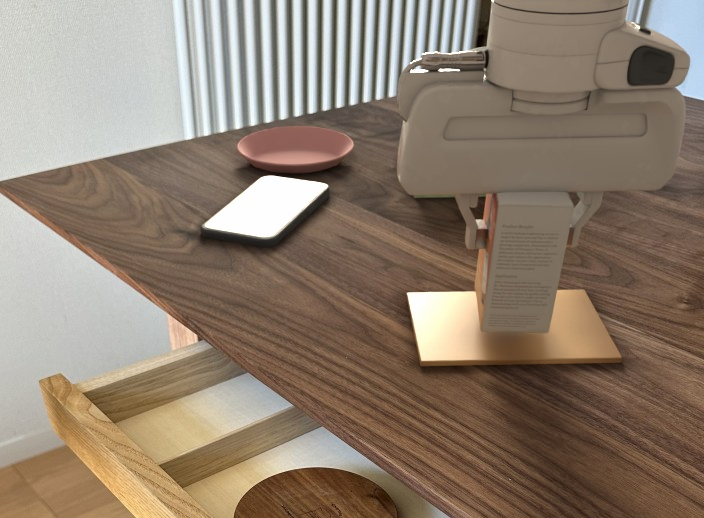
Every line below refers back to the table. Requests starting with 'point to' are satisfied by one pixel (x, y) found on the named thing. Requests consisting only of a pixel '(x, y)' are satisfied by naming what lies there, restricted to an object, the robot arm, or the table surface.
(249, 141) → the plate
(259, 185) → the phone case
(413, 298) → the gold metal mat
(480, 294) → the small box
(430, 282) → the table surface
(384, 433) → the table surface
